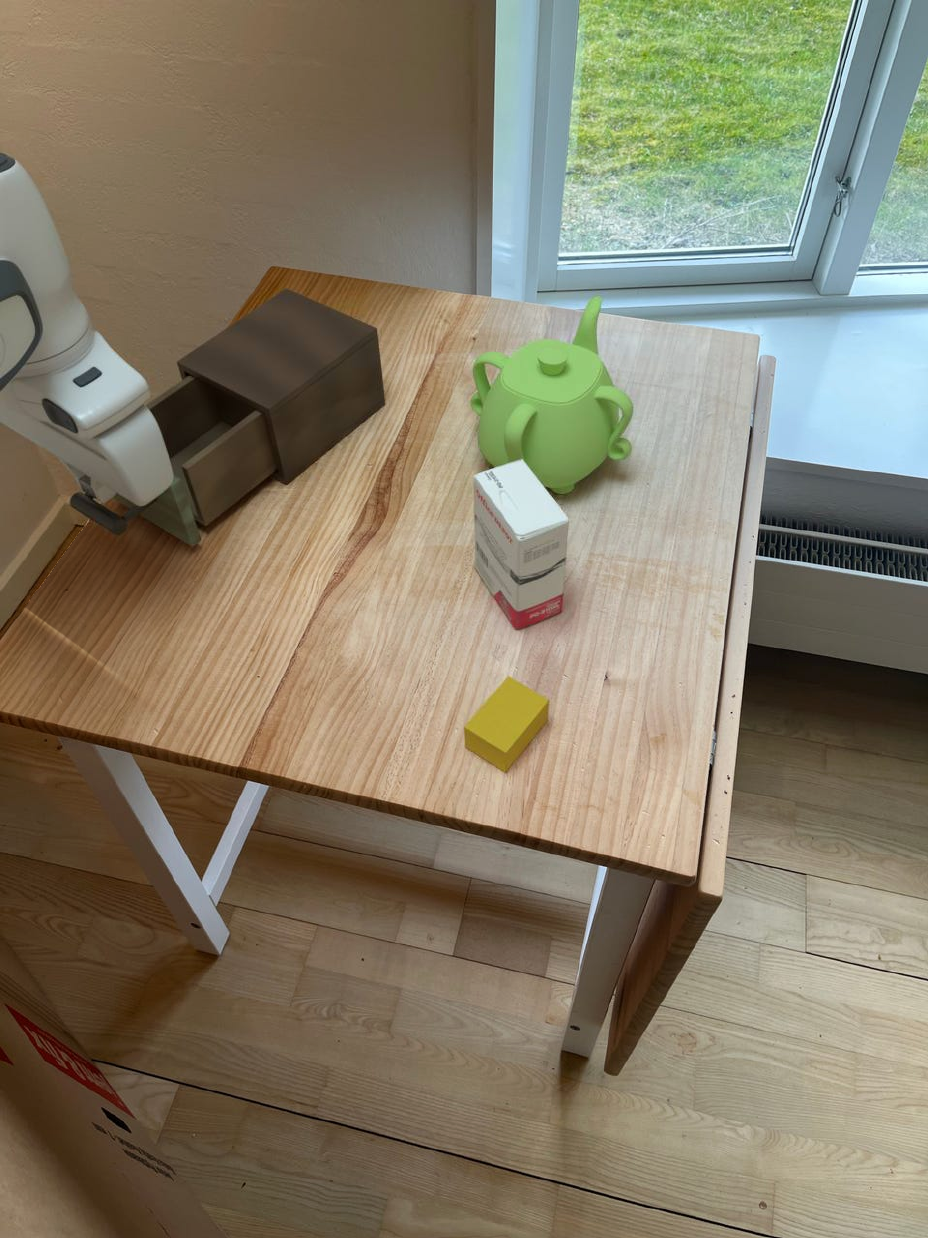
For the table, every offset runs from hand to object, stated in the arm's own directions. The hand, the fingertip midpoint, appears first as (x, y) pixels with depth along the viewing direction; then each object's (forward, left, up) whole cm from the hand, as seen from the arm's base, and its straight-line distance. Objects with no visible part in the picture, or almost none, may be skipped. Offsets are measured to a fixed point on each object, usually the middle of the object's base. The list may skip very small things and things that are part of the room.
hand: (99, 492), depth 84 cm
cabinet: (+21, +10, -7) cm, 24 cm away
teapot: (+43, -7, -8) cm, 44 cm away
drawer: (+7, +4, -7) cm, 10 cm away
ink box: (+31, -22, -8) cm, 38 cm away
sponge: (+23, -35, -7) cm, 42 cm away
